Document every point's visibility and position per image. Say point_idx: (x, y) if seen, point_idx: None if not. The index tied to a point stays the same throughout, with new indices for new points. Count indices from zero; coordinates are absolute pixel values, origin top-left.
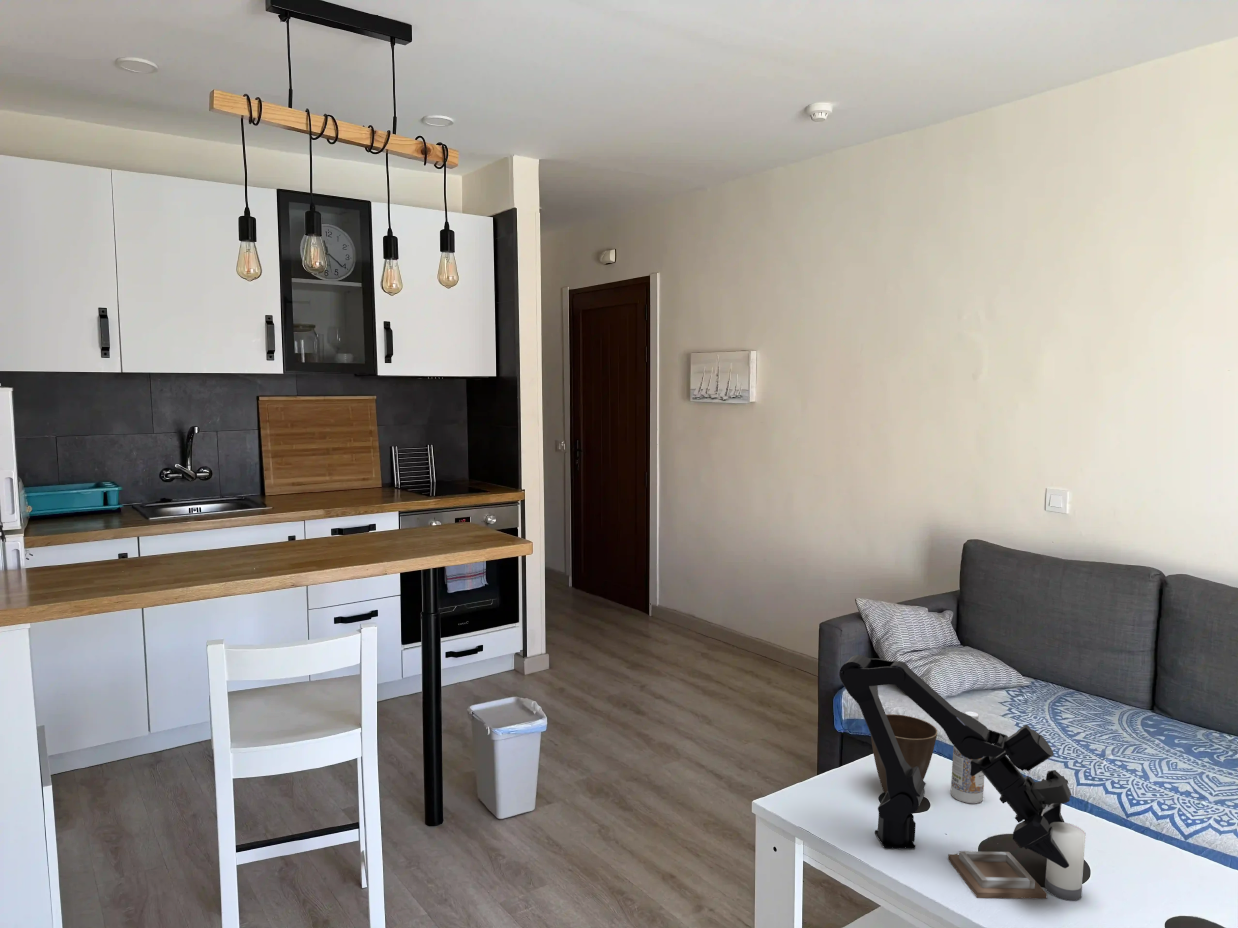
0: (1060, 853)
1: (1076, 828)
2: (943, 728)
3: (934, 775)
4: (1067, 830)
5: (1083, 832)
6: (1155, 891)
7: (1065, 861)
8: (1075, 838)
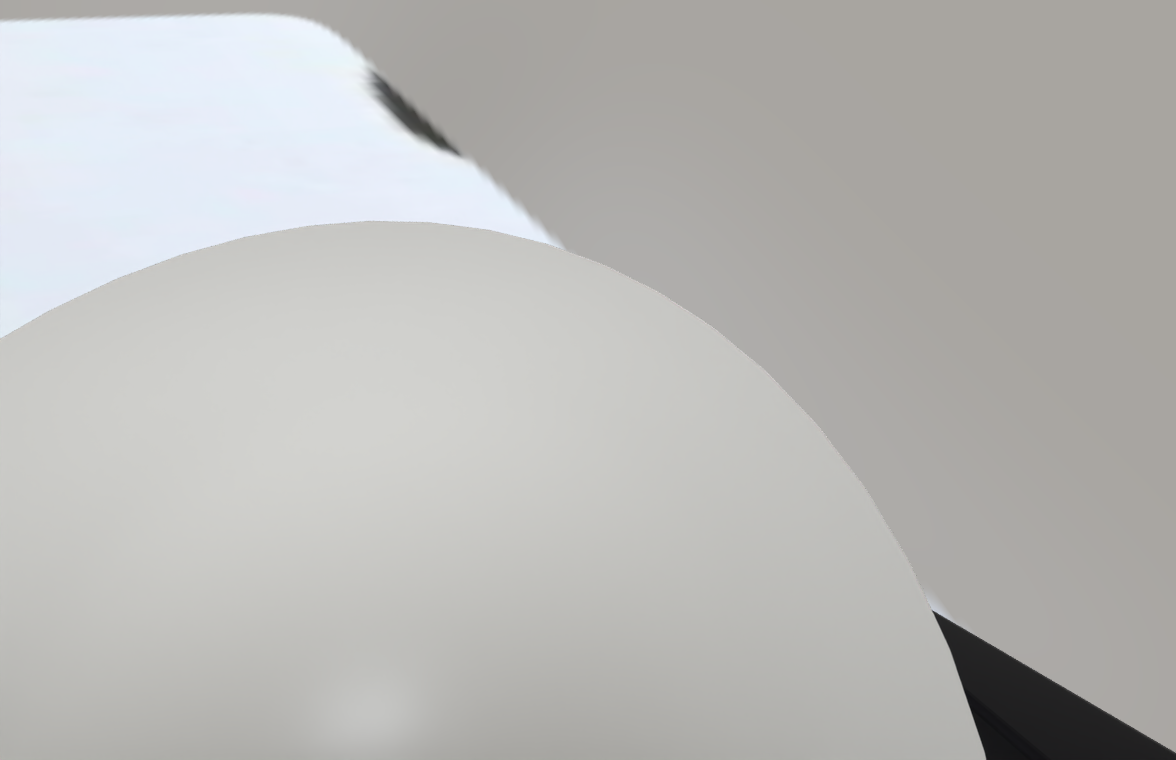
0: (1128, 729)
1: (2, 489)
2: None
3: None
4: (329, 757)
5: (220, 285)
6: (208, 220)
7: (949, 623)
8: (786, 398)
